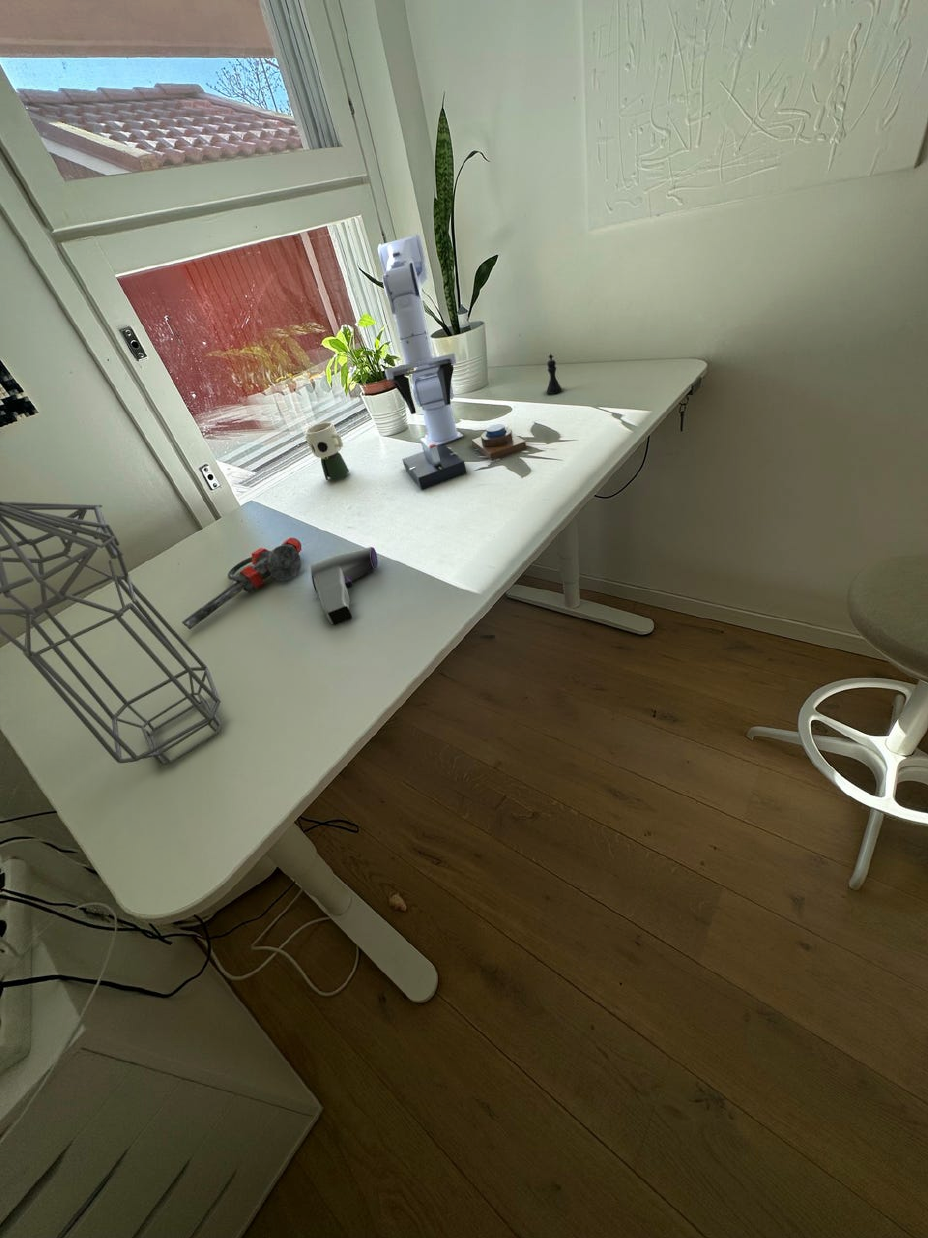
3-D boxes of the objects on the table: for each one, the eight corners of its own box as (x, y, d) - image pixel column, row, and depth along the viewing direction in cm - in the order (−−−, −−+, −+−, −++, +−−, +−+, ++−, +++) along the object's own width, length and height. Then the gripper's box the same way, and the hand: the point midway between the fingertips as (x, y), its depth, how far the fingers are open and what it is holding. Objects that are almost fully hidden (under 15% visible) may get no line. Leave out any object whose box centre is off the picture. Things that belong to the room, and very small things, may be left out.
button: (484, 435, 125) (483, 428, 124) (501, 429, 125) (500, 422, 124) (491, 440, 121) (490, 432, 120) (508, 434, 122) (507, 426, 121)
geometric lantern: (136, 805, 63) (-128, 572, 42) (122, 731, 74) (-92, 517, 53) (256, 731, 69) (78, 490, 47) (226, 672, 80) (71, 456, 58)
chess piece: (553, 388, 150) (550, 351, 144) (565, 389, 147) (562, 351, 141) (543, 393, 149) (539, 356, 142) (554, 395, 146) (550, 357, 139)
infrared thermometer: (329, 632, 84) (315, 582, 94) (399, 604, 85) (378, 558, 96) (318, 611, 80) (305, 562, 91) (391, 583, 82) (370, 538, 93)
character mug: (313, 483, 133) (292, 433, 125) (330, 470, 138) (311, 422, 130) (346, 484, 128) (326, 432, 120) (362, 471, 133) (344, 420, 125)
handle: (425, 457, 122) (419, 437, 119) (431, 455, 122) (426, 435, 119) (434, 467, 116) (429, 446, 113) (441, 464, 117) (436, 444, 114)
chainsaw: (284, 551, 111) (321, 557, 101) (178, 628, 98) (208, 644, 88) (268, 526, 108) (304, 529, 97) (155, 602, 95) (183, 615, 85)
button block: (472, 446, 129) (470, 432, 127) (505, 434, 131) (503, 420, 128) (491, 460, 120) (488, 446, 118) (526, 448, 121) (524, 433, 119)
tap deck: (404, 471, 127) (400, 458, 125) (448, 455, 128) (445, 442, 126) (420, 490, 116) (416, 477, 114) (468, 473, 118) (465, 460, 116)
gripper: (382, 342, 98) (401, 417, 104) (453, 326, 101) (468, 400, 107) (376, 347, 105) (395, 417, 110) (444, 331, 107) (458, 401, 113)
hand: (430, 409), depth 109 cm, fingers open, 7 cm apart
